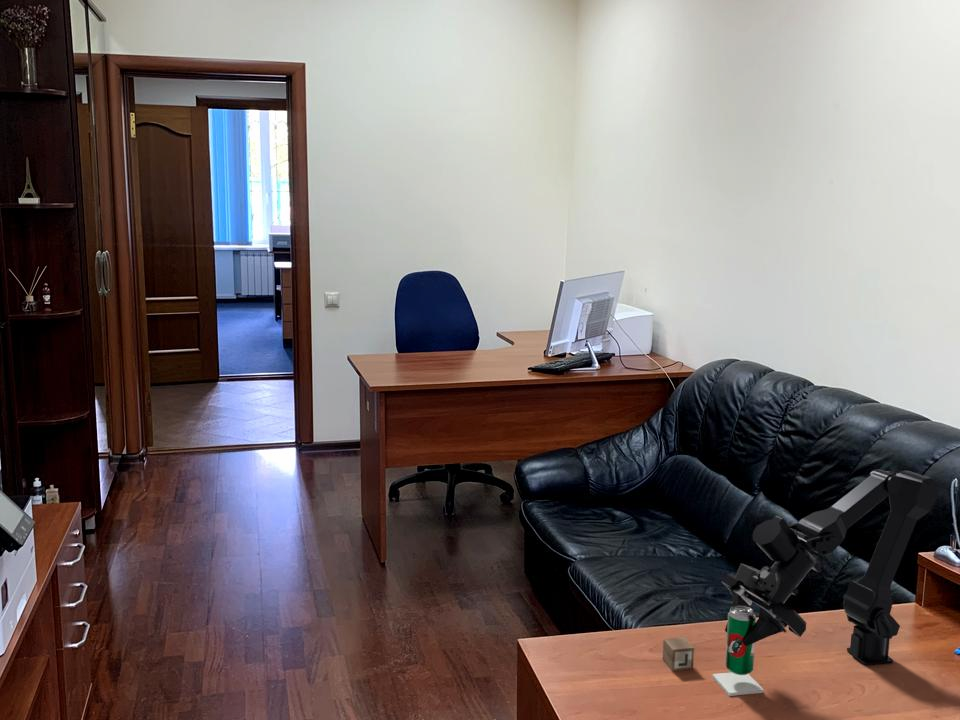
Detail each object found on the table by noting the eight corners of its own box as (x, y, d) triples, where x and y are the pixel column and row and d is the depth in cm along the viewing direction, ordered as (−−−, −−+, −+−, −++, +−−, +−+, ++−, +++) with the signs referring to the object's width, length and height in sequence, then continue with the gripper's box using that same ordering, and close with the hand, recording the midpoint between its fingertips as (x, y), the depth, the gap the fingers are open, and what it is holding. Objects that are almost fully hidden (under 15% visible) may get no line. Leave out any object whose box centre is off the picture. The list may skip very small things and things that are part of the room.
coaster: (745, 673, 171) (745, 671, 171) (763, 692, 165) (763, 689, 165) (712, 677, 170) (712, 674, 170) (729, 696, 163) (729, 693, 163)
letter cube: (683, 658, 178) (684, 637, 177) (693, 670, 173) (694, 648, 172) (662, 660, 177) (663, 639, 176) (672, 672, 172) (673, 650, 171)
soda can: (756, 676, 165) (760, 615, 163) (730, 676, 164) (733, 616, 163) (748, 662, 170) (751, 604, 168) (722, 663, 169) (724, 604, 168)
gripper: (731, 533, 173) (682, 595, 171) (797, 568, 156) (743, 636, 154) (762, 566, 177) (714, 626, 175) (829, 603, 160) (777, 670, 158)
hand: (735, 638), depth 165 cm, fingers closed on soda can, 5 cm apart
